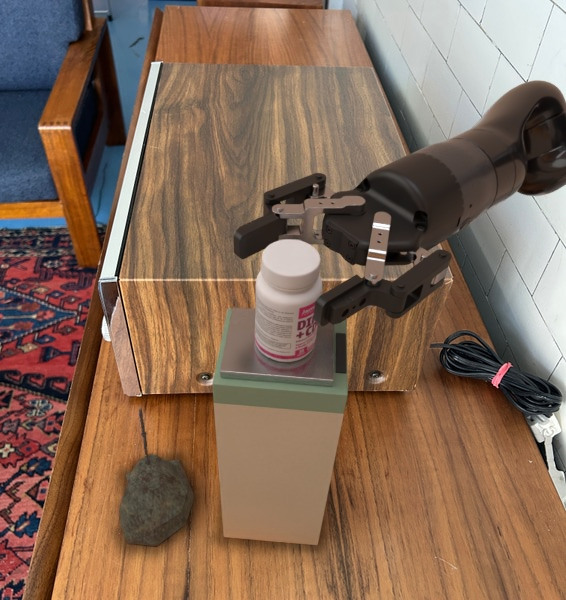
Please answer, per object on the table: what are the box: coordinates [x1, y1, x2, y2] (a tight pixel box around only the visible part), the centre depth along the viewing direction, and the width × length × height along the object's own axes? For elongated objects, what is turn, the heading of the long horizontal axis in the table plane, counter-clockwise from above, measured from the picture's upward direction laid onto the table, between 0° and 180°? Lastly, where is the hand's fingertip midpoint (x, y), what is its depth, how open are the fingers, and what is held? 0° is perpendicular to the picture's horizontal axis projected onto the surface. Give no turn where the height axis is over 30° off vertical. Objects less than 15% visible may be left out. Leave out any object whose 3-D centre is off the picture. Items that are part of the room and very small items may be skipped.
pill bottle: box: [254, 239, 323, 362], centre depth 41 cm, size 5×5×8 cm
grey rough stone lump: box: [118, 408, 195, 547], centre depth 58 cm, size 10×8×12 cm
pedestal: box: [213, 402, 345, 546], centre depth 54 cm, size 10×8×24 cm
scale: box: [211, 306, 349, 415], centre depth 45 cm, size 10×8×3 cm
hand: (274, 278), depth 38 cm, fingers open, 8 cm apart
